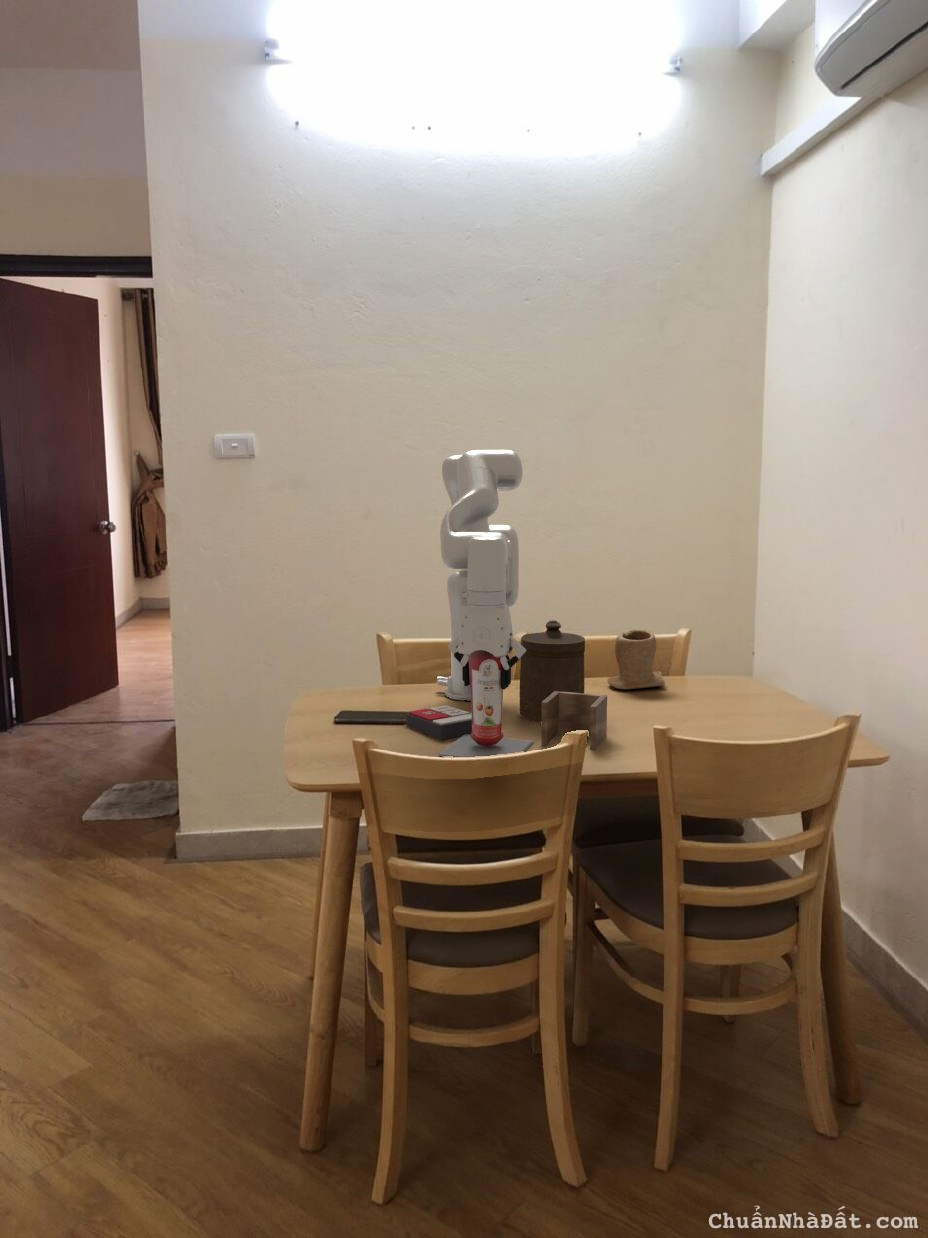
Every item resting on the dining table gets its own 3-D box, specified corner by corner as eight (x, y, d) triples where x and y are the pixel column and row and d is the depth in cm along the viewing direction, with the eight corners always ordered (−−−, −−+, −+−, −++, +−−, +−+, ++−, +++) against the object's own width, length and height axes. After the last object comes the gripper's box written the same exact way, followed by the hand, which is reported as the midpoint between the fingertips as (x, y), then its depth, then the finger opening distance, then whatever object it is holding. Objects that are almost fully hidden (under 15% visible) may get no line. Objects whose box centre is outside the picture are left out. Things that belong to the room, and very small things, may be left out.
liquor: (471, 748, 191) (470, 609, 186) (466, 737, 198) (465, 603, 193) (508, 746, 192) (508, 608, 187) (501, 735, 199) (501, 602, 194)
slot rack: (541, 744, 199) (541, 702, 197) (554, 731, 208) (554, 690, 207) (595, 750, 195) (596, 706, 193) (606, 736, 204) (607, 695, 203)
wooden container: (588, 709, 227) (589, 617, 223) (578, 725, 213) (580, 627, 209) (526, 705, 231) (527, 614, 227) (513, 721, 217) (513, 624, 213)
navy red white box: (447, 703, 219) (483, 714, 207) (447, 722, 220) (484, 734, 207) (404, 710, 213) (440, 722, 201) (405, 729, 214) (441, 742, 201)
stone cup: (620, 695, 240) (621, 636, 238) (602, 684, 251) (603, 628, 249) (676, 691, 244) (678, 633, 241) (655, 681, 255) (657, 625, 253)
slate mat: (438, 756, 191) (438, 753, 191) (465, 736, 205) (465, 733, 204) (510, 764, 185) (510, 761, 185) (532, 743, 199) (532, 740, 199)
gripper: (438, 599, 190) (439, 687, 193) (523, 603, 184) (522, 694, 187) (452, 594, 196) (453, 678, 200) (534, 598, 190) (533, 685, 193)
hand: (486, 685), depth 193 cm, fingers closed on liquor, 7 cm apart
